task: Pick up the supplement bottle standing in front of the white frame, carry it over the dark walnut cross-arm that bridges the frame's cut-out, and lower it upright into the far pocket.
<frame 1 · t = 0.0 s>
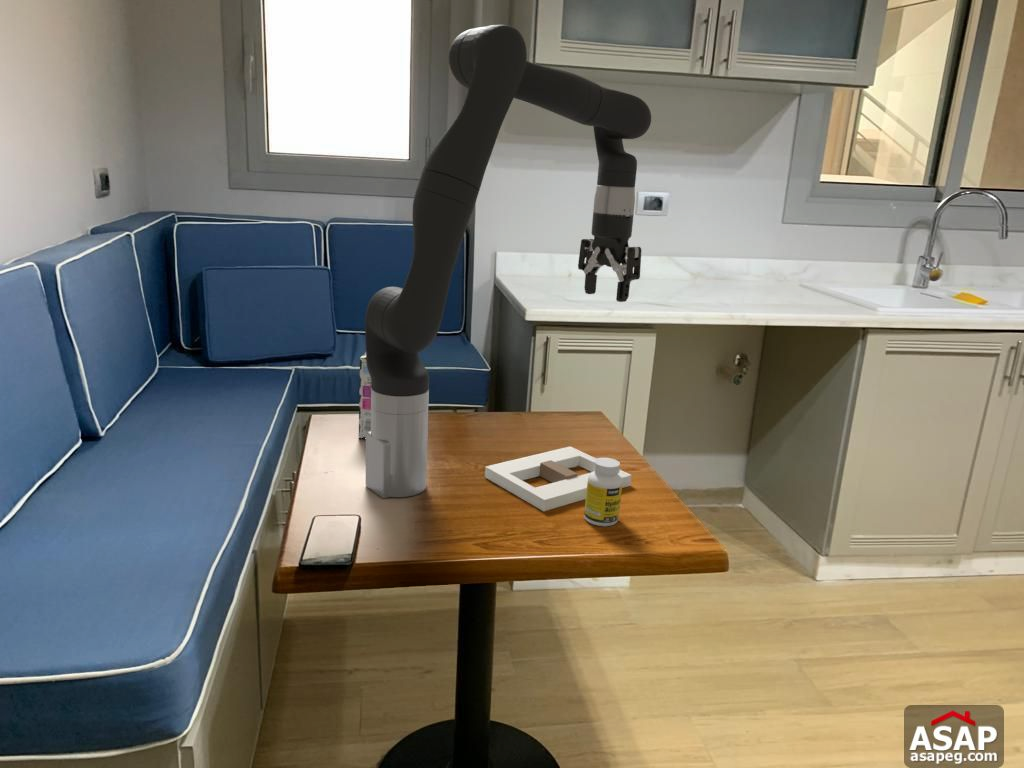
hand: (605, 297, 149), 29 cm above the table, tool pointing down, fingers open, 8 cm apart
candy bar box: (376, 431, 156), on the table
white frame: (557, 481, 136), on the table
supplement bottle: (601, 520, 123), on the table
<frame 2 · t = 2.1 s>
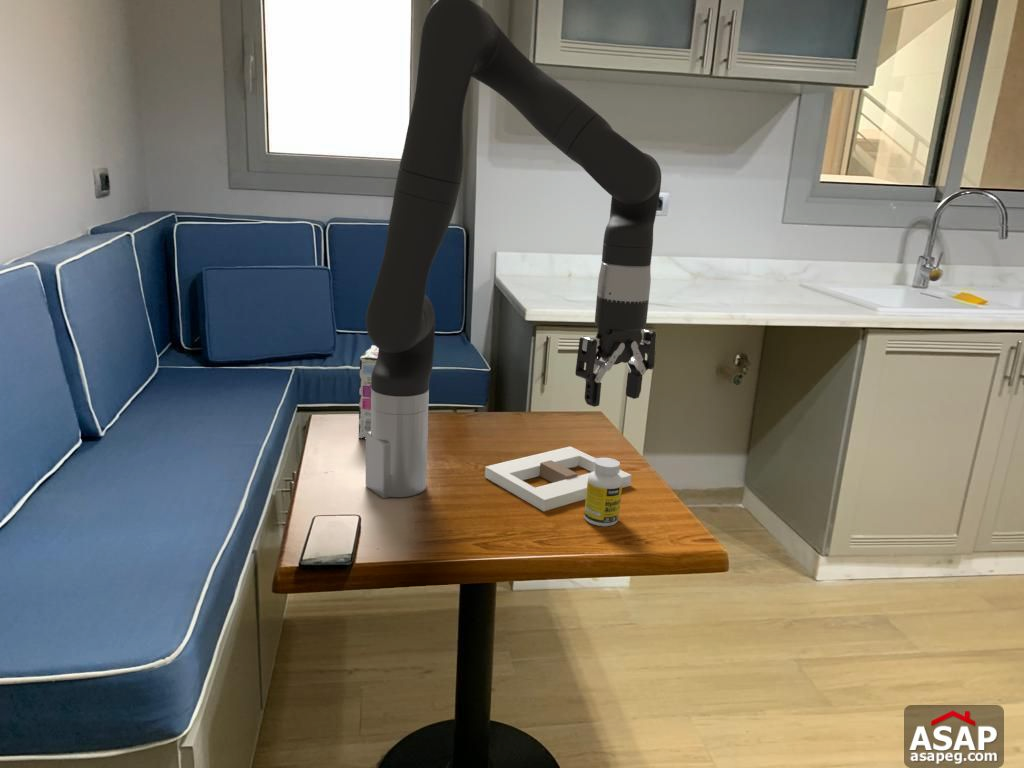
hand: (612, 401, 117), 20 cm above the table, tool pointing down, fingers open, 8 cm apart
nothing on the table moved.
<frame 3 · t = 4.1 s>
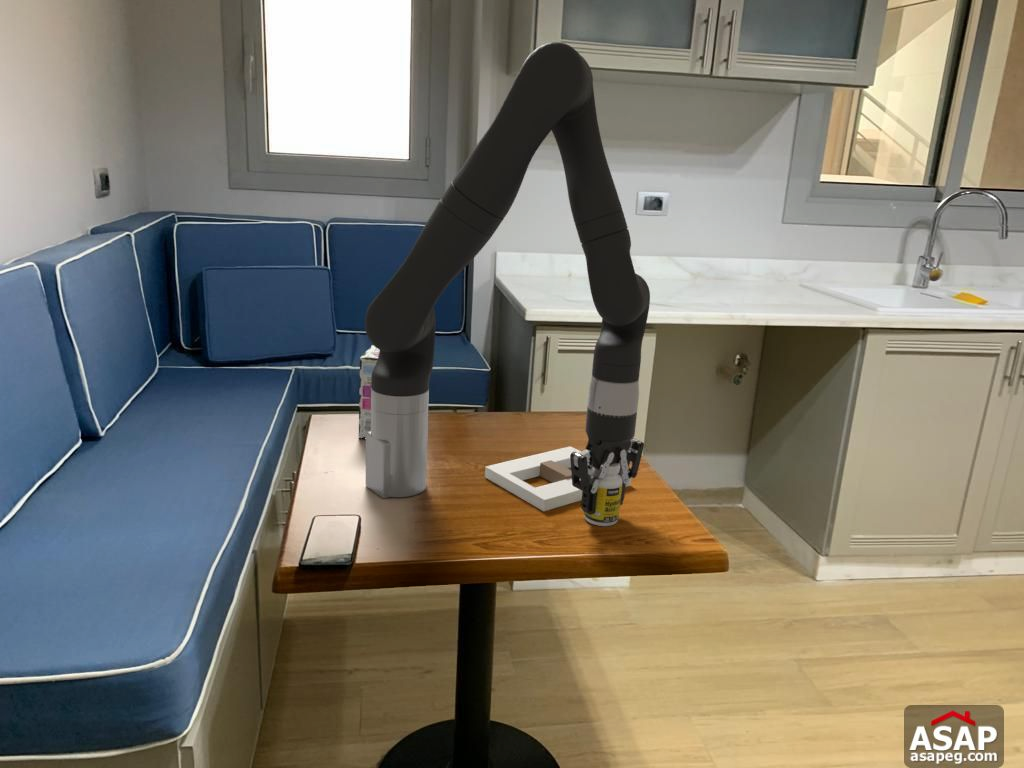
hand: (602, 507, 122), 2 cm above the table, tool pointing down, fingers closed on supplement bottle, 5 cm apart
supplement bottle: (601, 520, 123), on the table, touching gripper
everything else where it was.
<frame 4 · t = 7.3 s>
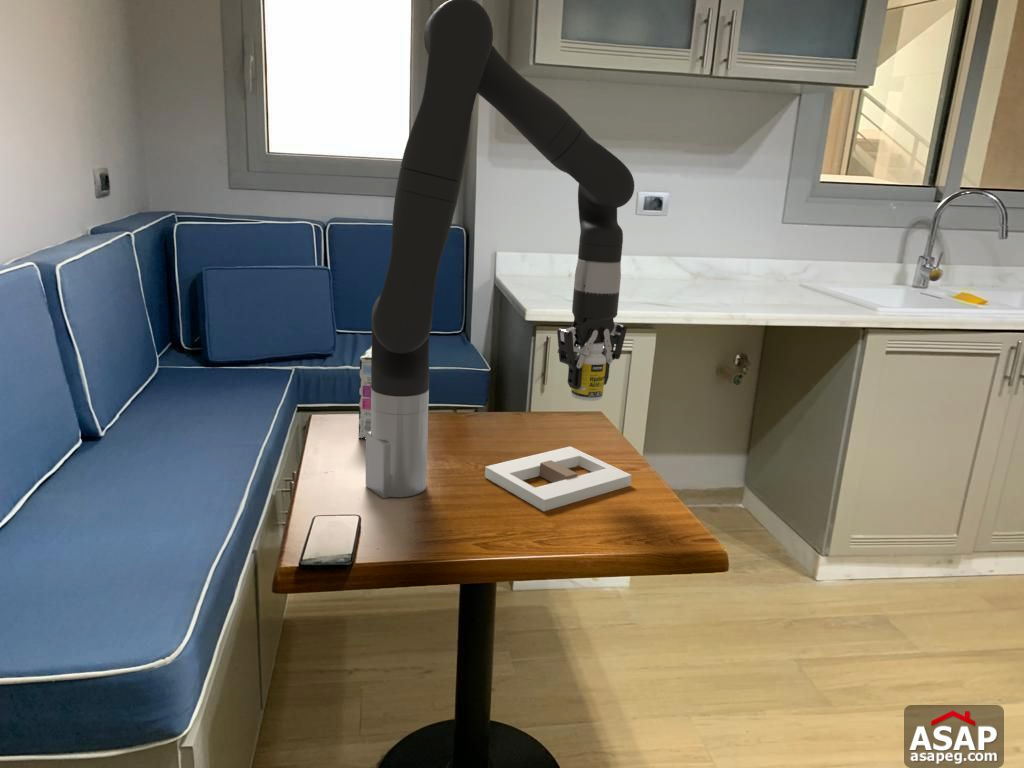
hand: (587, 385, 133), 17 cm above the table, tool pointing down, fingers closed on supplement bottle, 5 cm apart
supplement bottle: (586, 398, 133), point 15 cm above the table, touching gripper
everything else where it was.
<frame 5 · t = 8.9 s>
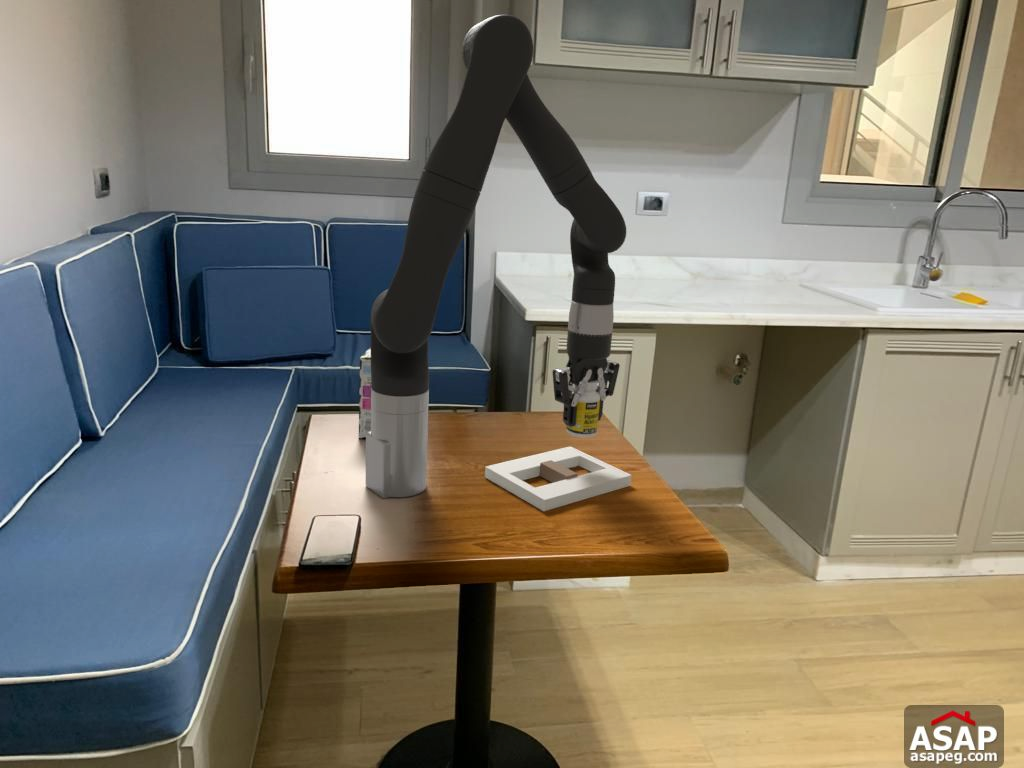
hand: (582, 422, 136), 10 cm above the table, tool pointing down, fingers closed on supplement bottle, 5 cm apart
supplement bottle: (581, 434, 137), point 8 cm above the table, touching gripper
everything else where it was.
when the fingers open (4 cm above the table, at t = 10.4 s): supplement bottle drops 2 cm, resting in white frame.
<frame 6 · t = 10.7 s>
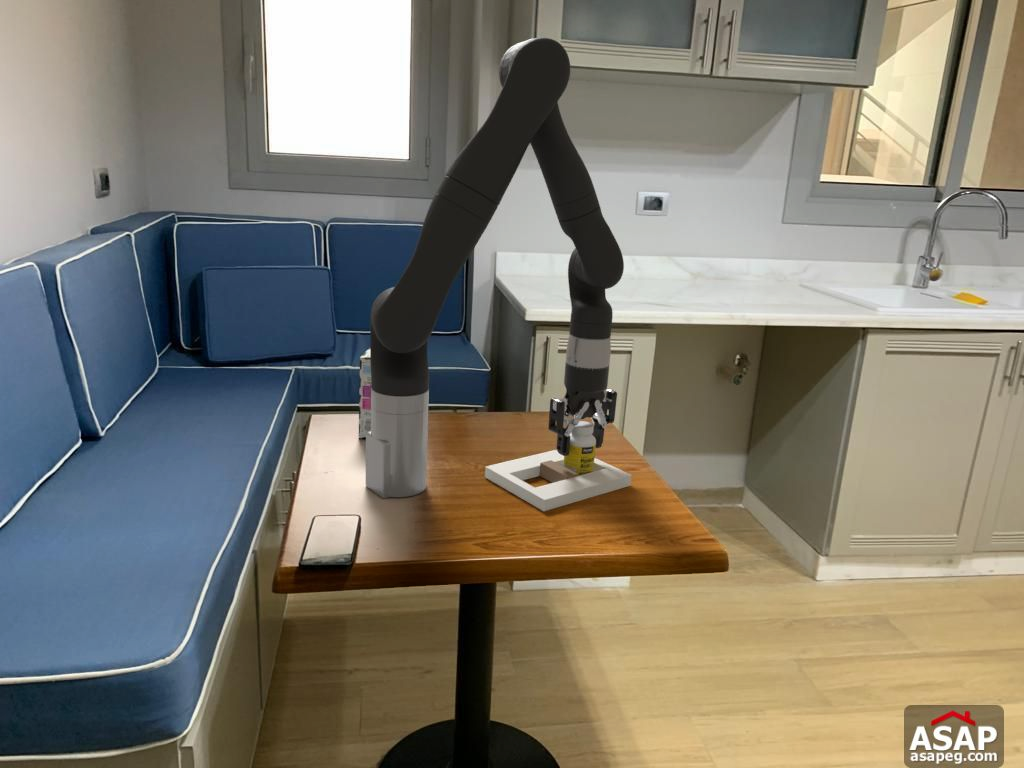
hand: (579, 450, 138), 5 cm above the table, tool pointing down, fingers open, 7 cm apart
supplement bottle: (577, 477, 139), resting in white frame
everything else where it was.
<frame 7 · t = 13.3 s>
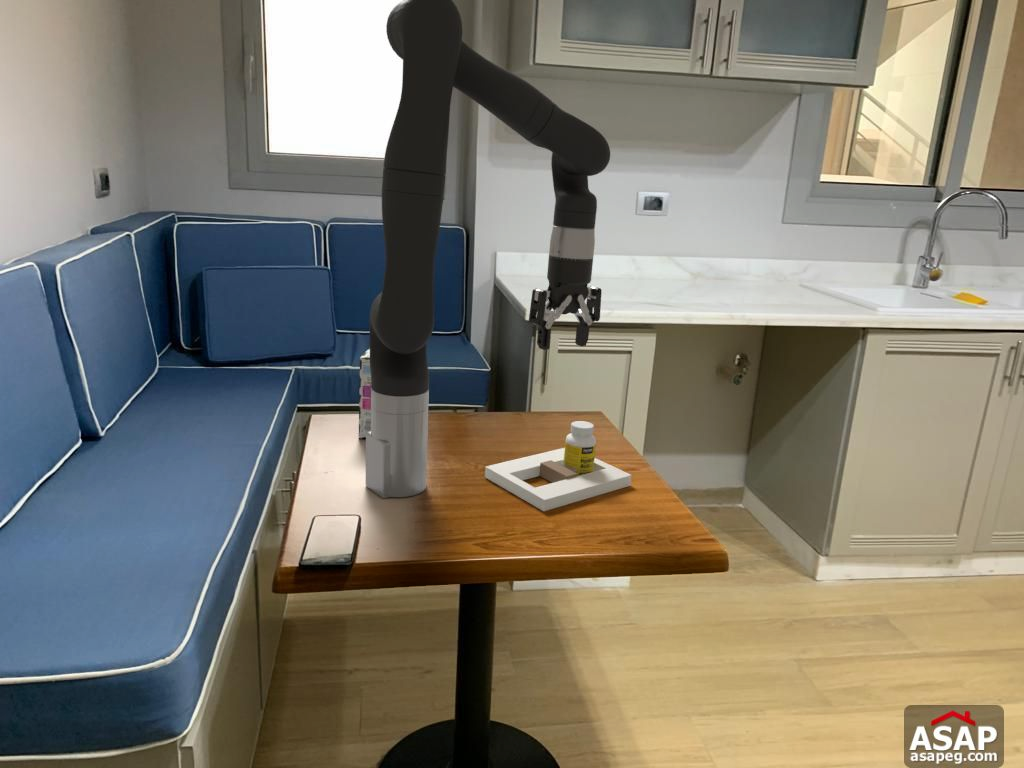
hand: (562, 347, 136), 23 cm above the table, tool pointing down, fingers open, 8 cm apart
nothing on the table moved.
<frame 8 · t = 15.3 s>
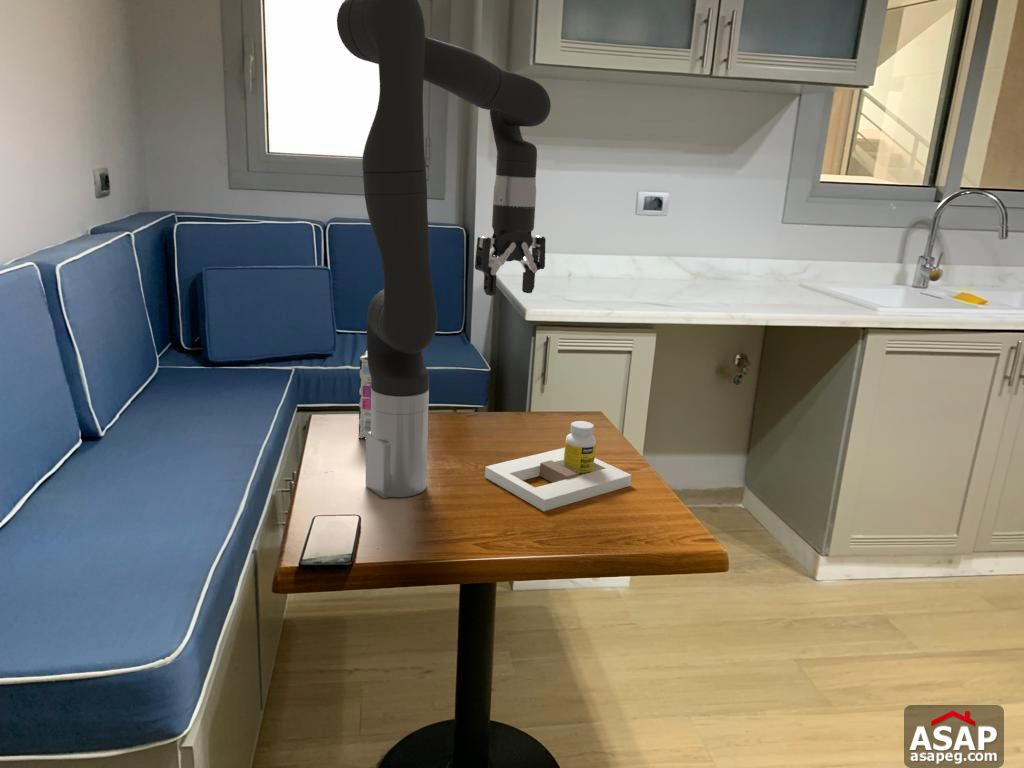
hand: (509, 293, 142), 30 cm above the table, tool pointing down, fingers open, 8 cm apart
nothing on the table moved.
at the end: supplement bottle 0.0 cm from the target spot on the white frame, point 0.0 cm above the white frame's base; supplement bottle tilted 0°; the gripper is holding nothing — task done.
